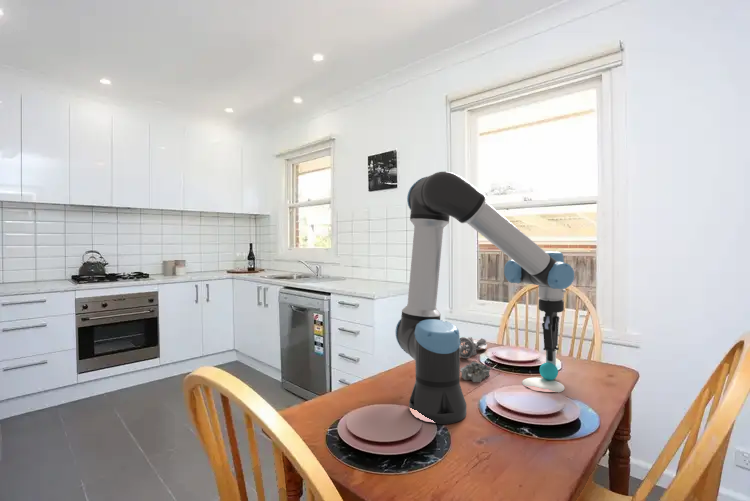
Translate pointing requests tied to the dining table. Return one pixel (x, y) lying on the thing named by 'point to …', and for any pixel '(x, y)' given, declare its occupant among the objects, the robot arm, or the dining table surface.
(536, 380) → the disc
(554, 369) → the ball
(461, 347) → the spaceship
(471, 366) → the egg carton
